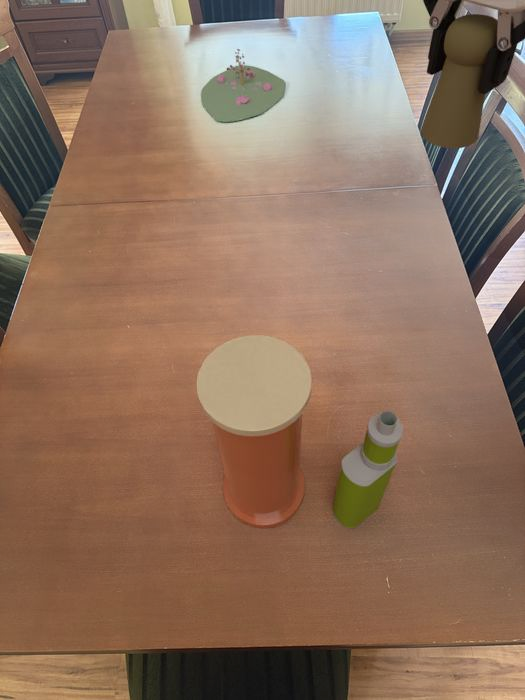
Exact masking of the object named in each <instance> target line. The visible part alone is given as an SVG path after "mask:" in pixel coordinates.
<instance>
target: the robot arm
mask: <svg viewBox="0 0 525 700" xmlns="http://www.w3.org/2000/svg"><path fill="white" fill-rule="evenodd" d="M464 2H467V3H471V4H474V5H478V6H480V7H486V8H489V9H492V10H497V20H498V21H497V43H496V46H494V47H492V48H491V49H490V50H489V51H488V55H487V58H486V62H485V65H484V69H483V72H482V76H481V79H480V83H479V87H478V91H479V93H481V94H485V95H486V94H488V93H489V92H491V91H493V90H495V89H496V88H498V87H499V86H500V85H501V84H503V83H504V82H505V81H506V80H507V78H508V75H509V73H510V69H511V67H512V63H513V59H514V56H515V53H516V51H517V47H518V44H520V43H521V42H523V41H524V40H525V0H422V3H423V4H424V6H425V9H426V11H427V13H428V16H429V19H428V25H429V28H430V29H432V34H431V39H430V44H429V50H428V53H427V54H428V55H427V59H428V63H427V68H426V73H427V74H428V75H430V76H433V75H437V73H440V72H442V69H443V66H444V63H445V60H446V57H447V56H446V54H445V51H444V40H445V35H446V32H447V30H448V27H449V26H450V25H451V23H452V22H453V21H454V20H455V19H457V17H458V14H459V13H460V10H461V8H462V6H463V4H464Z"/></svg>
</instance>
